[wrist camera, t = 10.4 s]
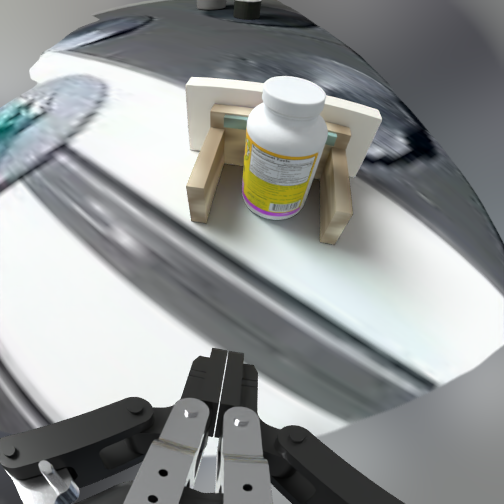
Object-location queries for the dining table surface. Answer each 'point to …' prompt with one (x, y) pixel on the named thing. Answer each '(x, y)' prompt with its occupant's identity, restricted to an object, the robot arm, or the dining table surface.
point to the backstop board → (250, 95)
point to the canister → (211, 4)
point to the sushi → (247, 9)
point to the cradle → (232, 152)
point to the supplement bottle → (283, 147)
